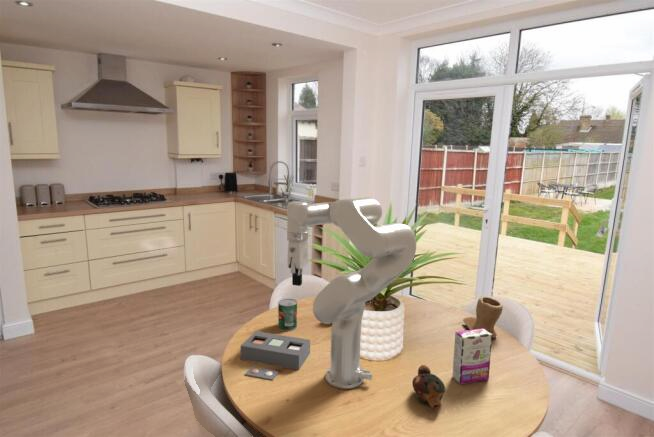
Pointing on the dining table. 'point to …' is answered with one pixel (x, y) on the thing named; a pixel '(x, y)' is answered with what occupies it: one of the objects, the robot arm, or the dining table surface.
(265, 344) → the keypad housing
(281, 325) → the canned tomato
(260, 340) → the terracotta key
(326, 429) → the dining table surface
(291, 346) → the off-white key
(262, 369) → the card
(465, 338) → the candy bar box
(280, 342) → the sage key
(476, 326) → the tan boot
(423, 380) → the decorative turtle
